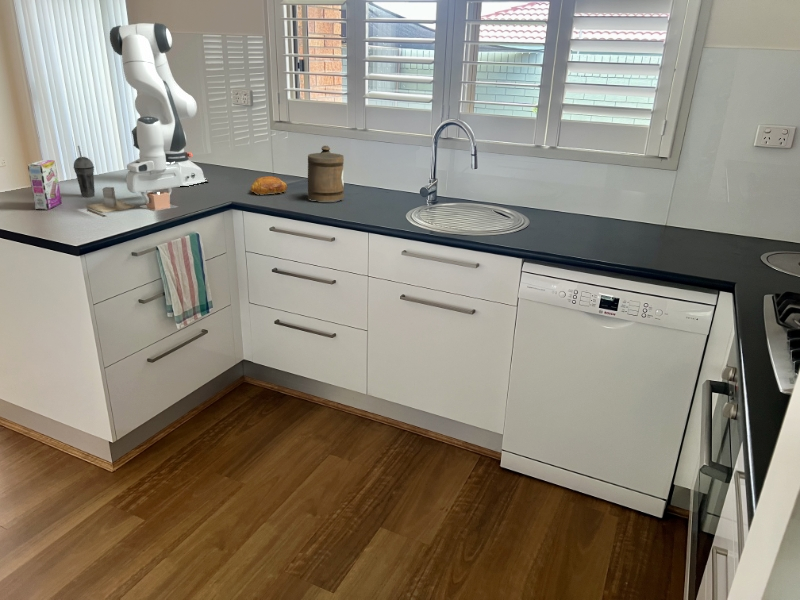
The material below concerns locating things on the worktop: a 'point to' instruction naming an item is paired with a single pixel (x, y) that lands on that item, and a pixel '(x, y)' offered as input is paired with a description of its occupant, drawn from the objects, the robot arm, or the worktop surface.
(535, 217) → the worktop surface
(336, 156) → the wooden container
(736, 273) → the worktop surface
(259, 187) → the croissant
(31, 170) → the candy bar box
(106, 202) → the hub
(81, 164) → the beverage cup
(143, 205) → the rod stand
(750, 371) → the worktop surface
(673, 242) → the worktop surface
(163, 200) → the collar
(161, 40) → the robot arm
